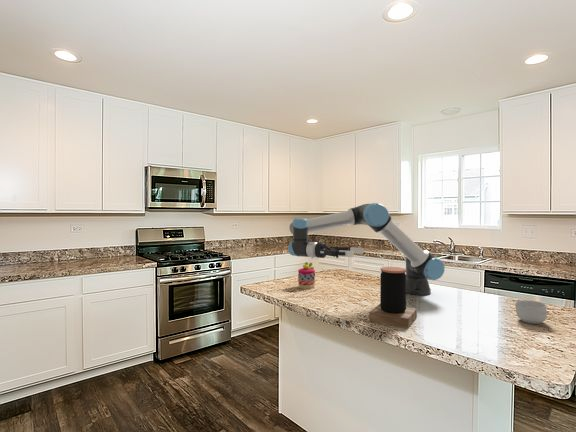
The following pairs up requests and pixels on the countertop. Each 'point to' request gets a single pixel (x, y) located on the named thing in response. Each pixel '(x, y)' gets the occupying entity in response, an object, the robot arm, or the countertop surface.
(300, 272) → the cake
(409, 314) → the walnut base block
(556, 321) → the countertop surface
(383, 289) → the coffee jar
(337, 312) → the countertop surface
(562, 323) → the countertop surface
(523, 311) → the teacup
